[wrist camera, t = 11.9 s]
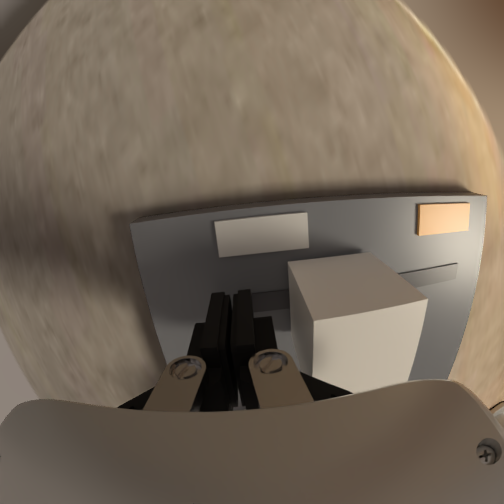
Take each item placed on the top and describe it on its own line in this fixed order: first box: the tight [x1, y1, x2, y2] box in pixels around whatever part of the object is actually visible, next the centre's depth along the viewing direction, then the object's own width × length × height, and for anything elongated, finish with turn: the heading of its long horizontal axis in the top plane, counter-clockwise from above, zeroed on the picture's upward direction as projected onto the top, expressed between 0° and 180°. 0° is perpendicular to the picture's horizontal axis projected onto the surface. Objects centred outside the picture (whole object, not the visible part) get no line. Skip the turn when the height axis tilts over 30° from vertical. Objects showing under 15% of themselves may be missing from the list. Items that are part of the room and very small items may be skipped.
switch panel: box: [129, 192, 487, 411], centre depth 15 cm, size 20×18×2 cm
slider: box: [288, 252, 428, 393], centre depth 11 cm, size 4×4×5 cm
